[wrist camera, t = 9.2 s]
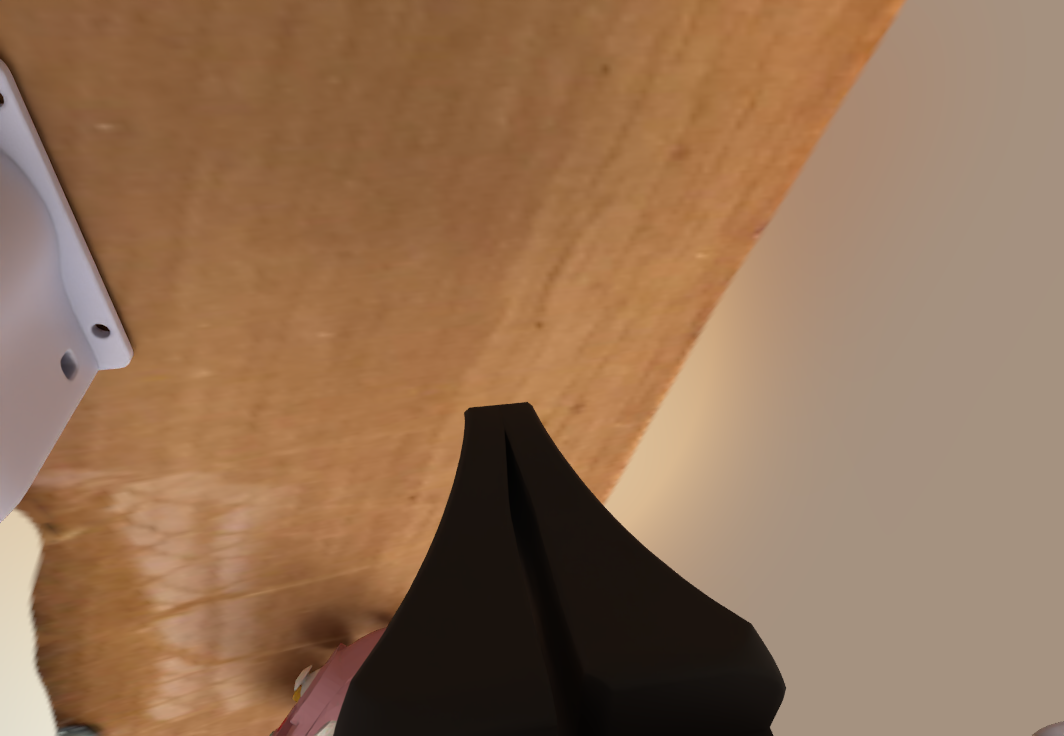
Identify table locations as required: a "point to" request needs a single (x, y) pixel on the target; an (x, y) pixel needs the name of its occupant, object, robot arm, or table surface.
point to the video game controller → (325, 690)
